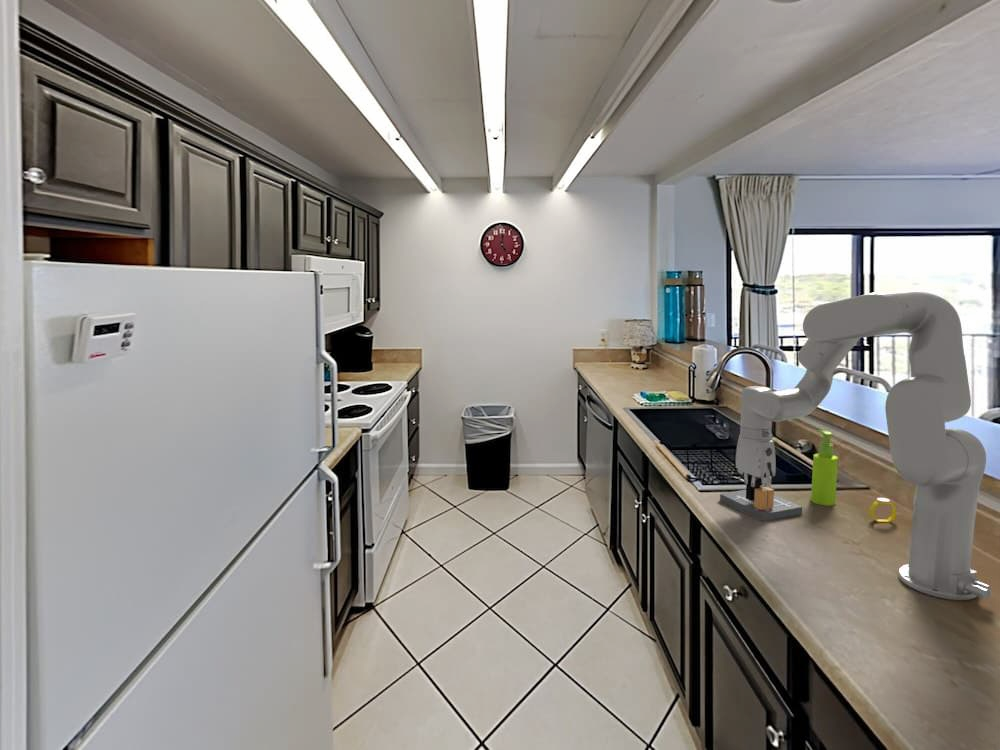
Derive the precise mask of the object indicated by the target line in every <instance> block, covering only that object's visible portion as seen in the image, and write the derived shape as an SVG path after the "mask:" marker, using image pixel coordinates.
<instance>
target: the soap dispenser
mask: <svg viewBox="0 0 1000 750" xmlns="http://www.w3.org/2000/svg"><path fill="white" fill-rule="evenodd" d="M816 433H820V434H822V441H821V442H819V444H818V453H815V454H813V456H812V457H813V459H812V475H811V476H812V478H811V479H812V480H811V491H810V493H811V496H810V501H811V502H812V503H814V504H815V505H816V504H817V505H820V506H827V507H828V506H829V507H830V506H831V507H832V506H834V505H836V499H837V498H836V497H837V496H836V495H837V484H838V483H837V480H838V478H837V477H838V463H839V457H838V456H836V455H834V444H833V443H831V437H833V436H834V433H833V432H831V431H829V430H827V429H816Z"/></svg>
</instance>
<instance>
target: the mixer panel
mask: <svg viewBox="0 0 1000 750" xmlns="http://www.w3.org/2000/svg"><path fill="white" fill-rule="evenodd" d="M719 501H720V502H722V503H724V504H726V505H728V506H730V507H732V508H734V509H737V510H739V511H740V512H743V513H744V514H746V515H748V516H751V517H752V518H755V519H757V520H759V521H760V522H767V521H773V520H777V519H779V520H780V519H784V518H788V517H795V516H799V515H803V506H801V505H800V504H799V505H798V504H797V503H795V502H792V501H789V500H787V499H785V498H782V497H780V496H778V495H776V494H774V502H773V508H770V509H765V510H760V509H758V508H755V507H754V500H753V501H750V500H749V499H746V489H742V490H736V491H735V490H733V491H730V492H724V493H722V492H721V493H720V494H719Z"/></svg>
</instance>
